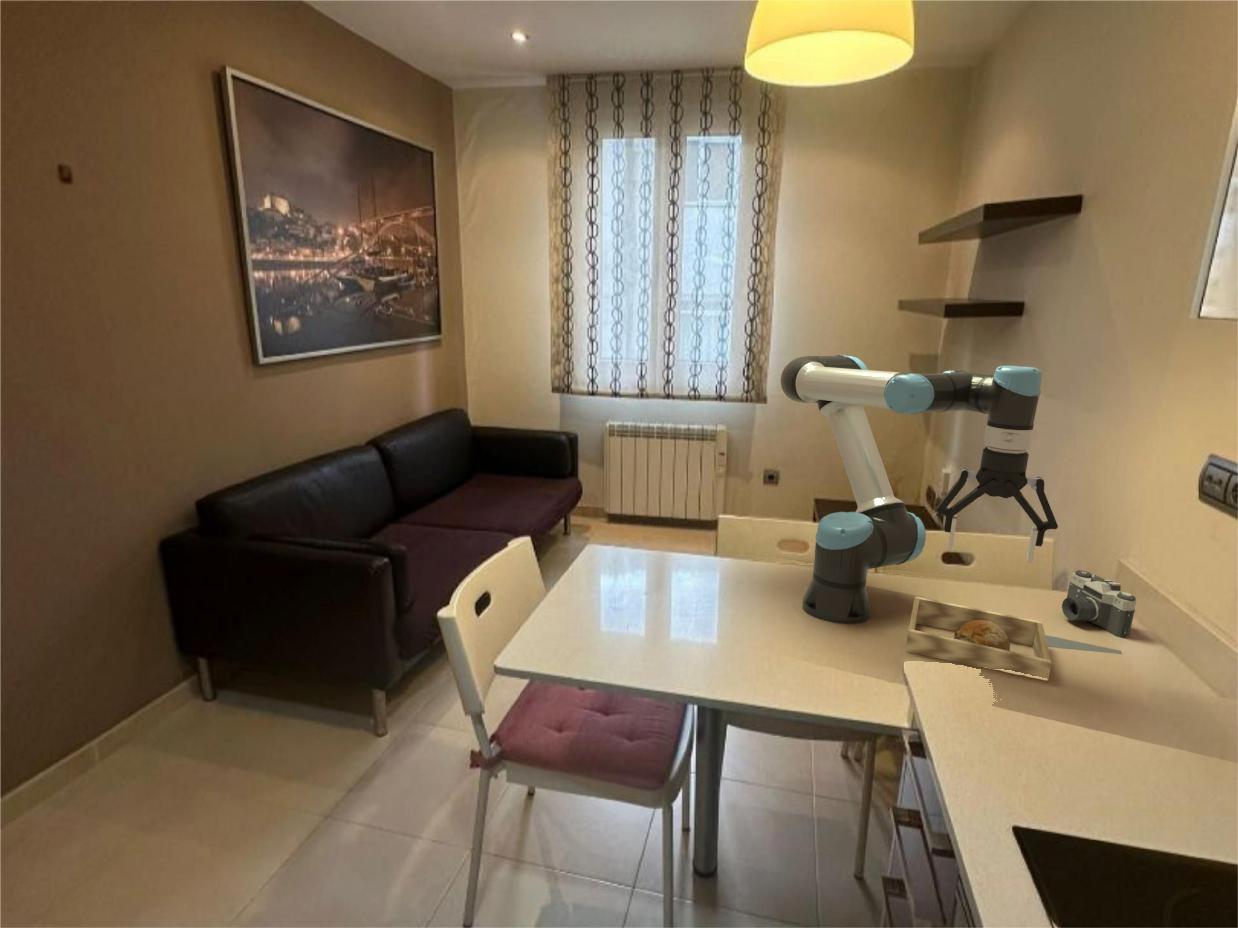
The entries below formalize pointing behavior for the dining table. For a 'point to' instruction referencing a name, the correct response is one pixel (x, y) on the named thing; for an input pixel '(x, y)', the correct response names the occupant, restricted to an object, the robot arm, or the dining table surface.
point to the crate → (975, 653)
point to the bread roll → (983, 634)
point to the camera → (1099, 603)
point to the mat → (1077, 645)
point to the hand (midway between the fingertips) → (988, 554)
